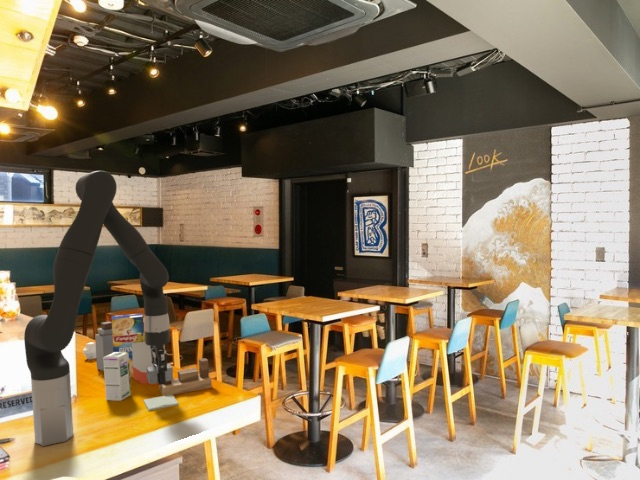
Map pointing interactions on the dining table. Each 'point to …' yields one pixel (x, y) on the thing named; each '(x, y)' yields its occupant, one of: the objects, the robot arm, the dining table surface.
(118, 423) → the dining table surface
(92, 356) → the white lumpy round piece
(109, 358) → the syrup box
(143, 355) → the french fries container
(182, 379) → the body
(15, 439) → the dining table surface
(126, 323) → the cereal box
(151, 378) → the lever cap
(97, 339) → the perfume bottle
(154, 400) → the mat
